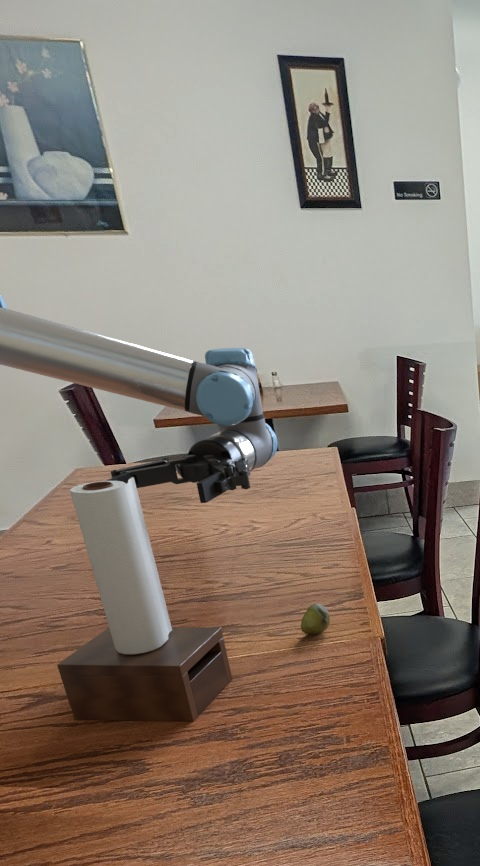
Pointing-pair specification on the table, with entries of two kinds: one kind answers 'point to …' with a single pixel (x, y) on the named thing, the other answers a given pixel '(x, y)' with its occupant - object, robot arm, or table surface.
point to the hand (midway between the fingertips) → (152, 493)
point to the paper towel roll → (123, 564)
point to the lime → (315, 620)
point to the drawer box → (147, 677)
